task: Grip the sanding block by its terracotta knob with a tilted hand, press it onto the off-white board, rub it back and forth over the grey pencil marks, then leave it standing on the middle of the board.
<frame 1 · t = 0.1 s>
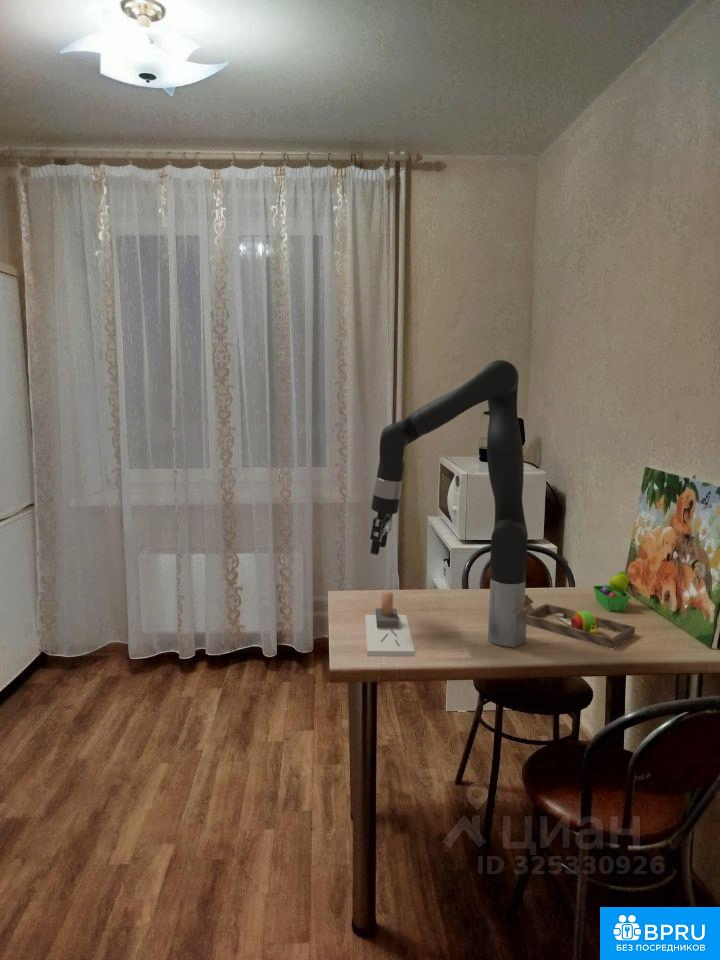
hand: (378, 550, 183), 22 cm above the table, tool pointing down, fingers open, 8 cm apart
wooden tray: (577, 629, 186), on the table
toy snail: (576, 630, 186), resting in wooden tray
fruit basket: (612, 607, 205), on the table
marked board: (388, 636, 179), on the table
wooden fragment: (514, 603, 209), on the table
sanding block: (386, 622, 186), point 1 cm above the table, touching marked board
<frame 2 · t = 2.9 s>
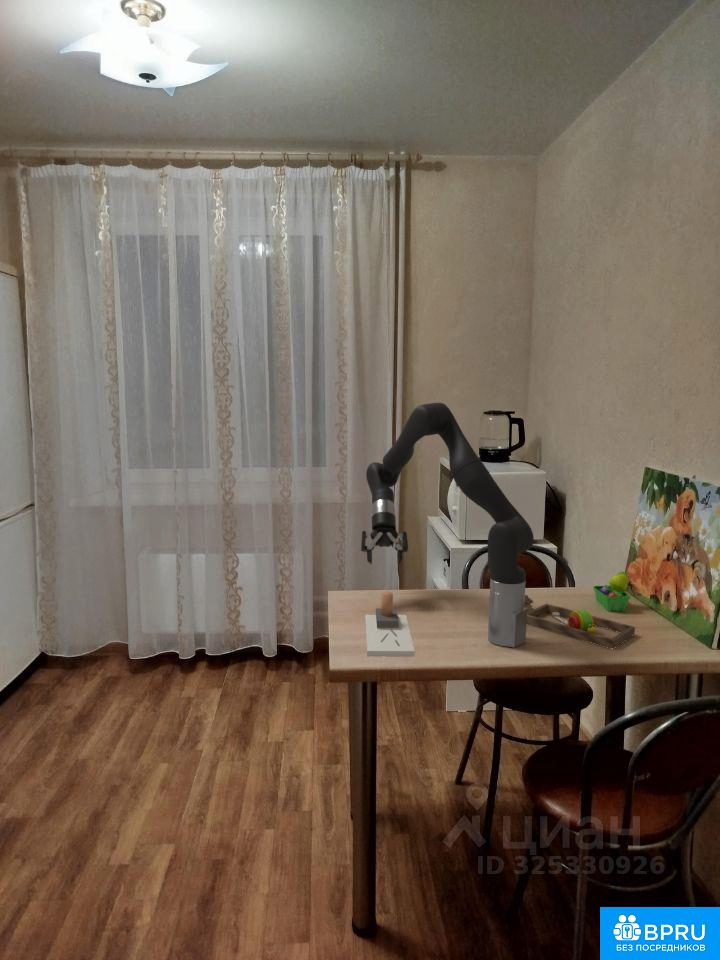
hand: (384, 562, 195), 16 cm above the table, tool tilted 45°, fingers open, 8 cm apart
toy snail: (573, 628, 187), resting in wooden tray
everything else where it was.
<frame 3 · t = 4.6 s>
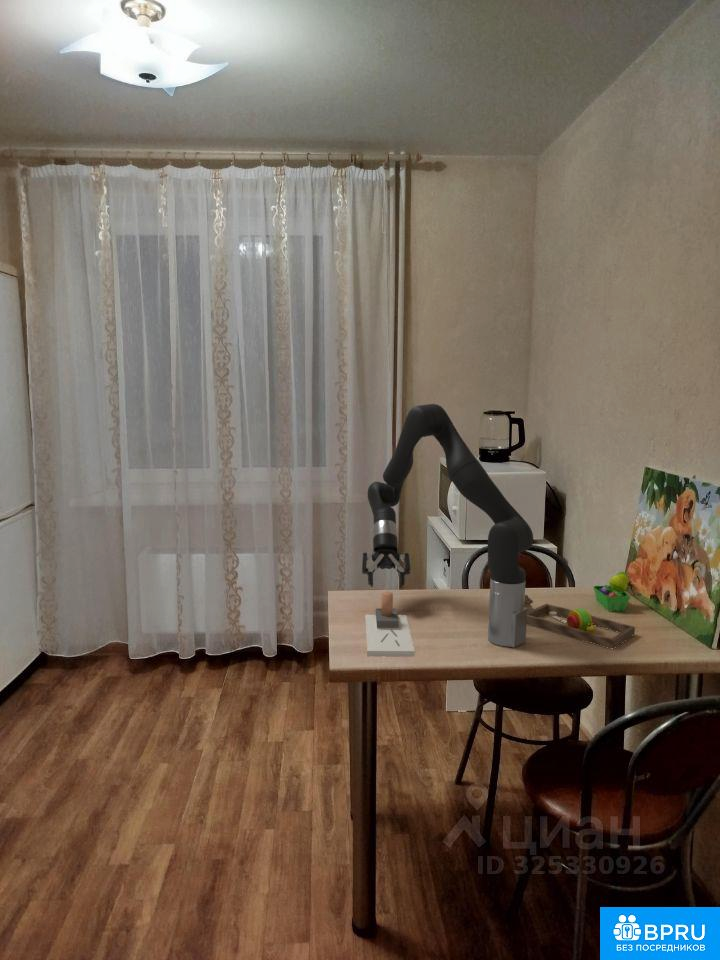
hand: (386, 585, 190), 11 cm above the table, tool tilted 45°, fingers open, 8 cm apart
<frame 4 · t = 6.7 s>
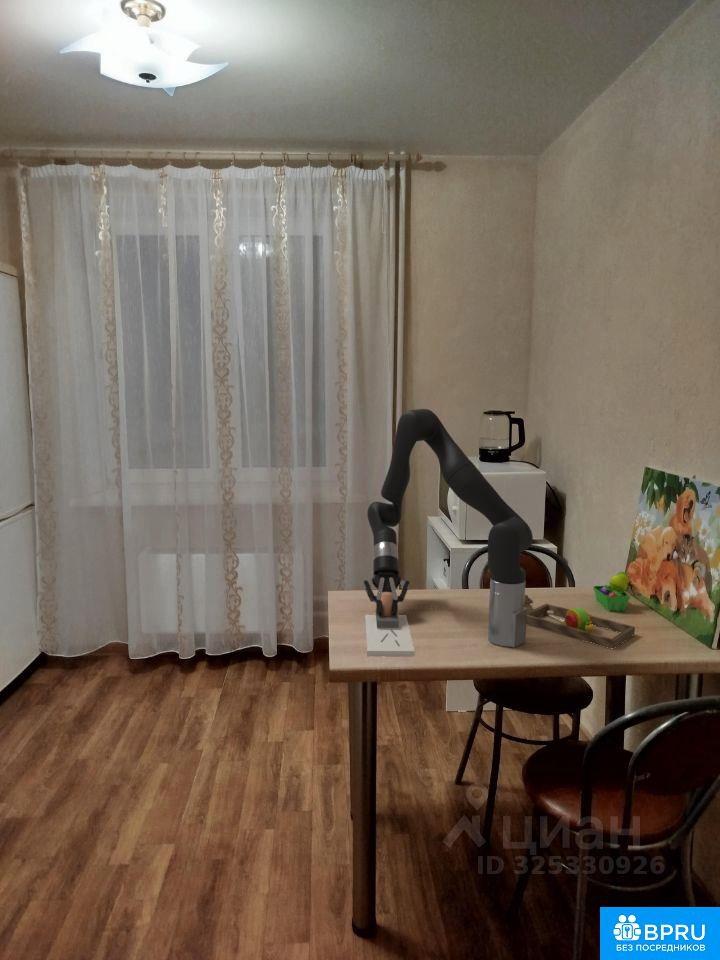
hand: (387, 614, 183), 5 cm above the table, tool tilted 45°, fingers closed on sanding block, 3 cm apart
sanding block: (386, 622, 186), point 1 cm above the table, touching gripper, marked board
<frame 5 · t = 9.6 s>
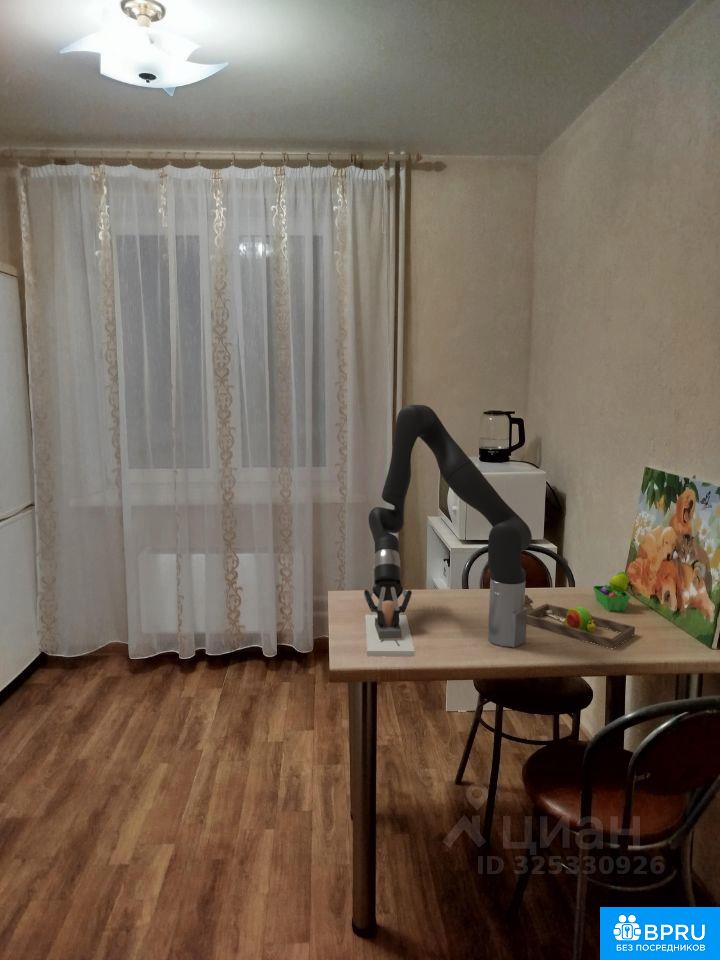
hand: (388, 625, 175), 4 cm above the table, tool tilted 45°, fingers closed on sanding block, 3 cm apart
sanding block: (387, 632, 178), point 2 cm above the table, touching gripper
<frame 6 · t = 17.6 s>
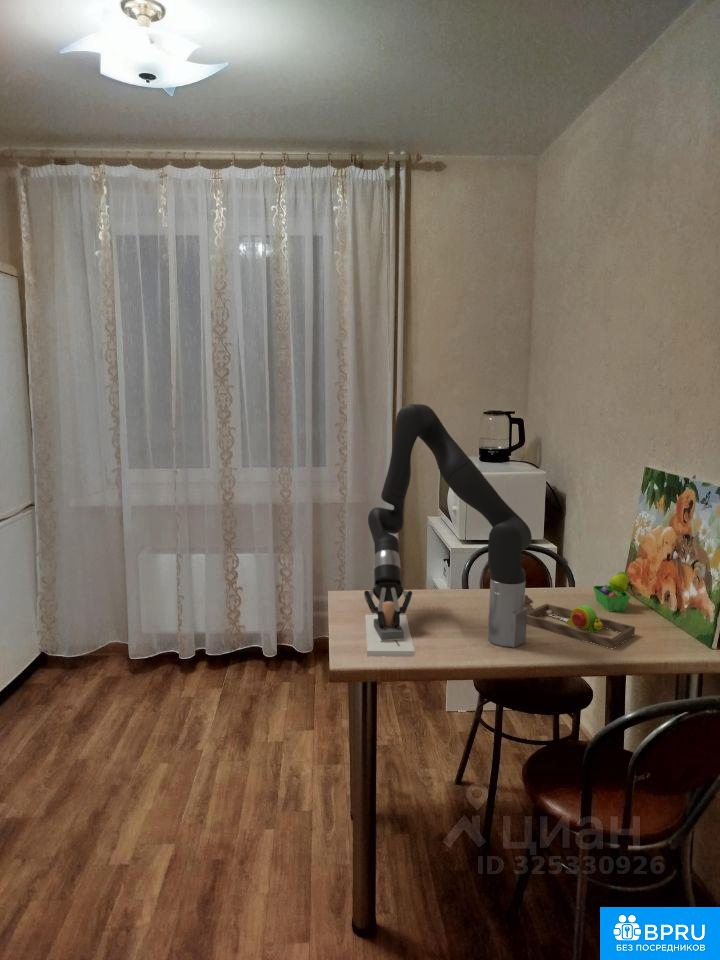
hand: (389, 626, 174), 5 cm above the table, tool tilted 45°, fingers closed on sanding block, 3 cm apart
toy snail: (572, 624, 190), resting in wooden tray
sanding block: (388, 632, 177), point 2 cm above the table, touching gripper
everything else where it was.
when the fingers open (5 cm above the table, at t = 17.9 s): sanding block stays where it is, resting on marked board.
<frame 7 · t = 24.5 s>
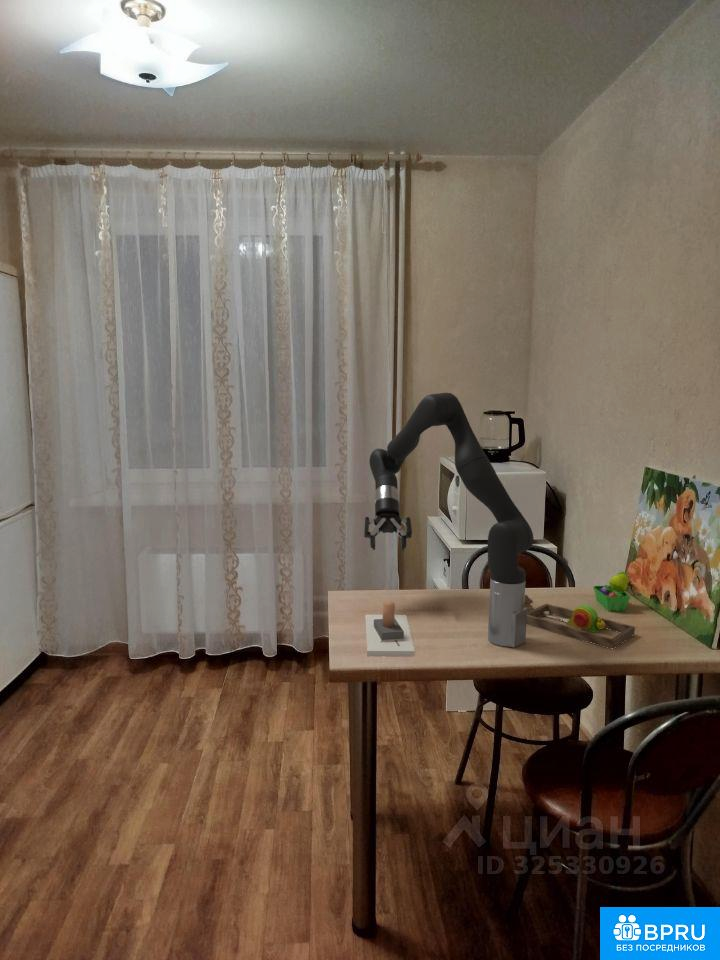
hand: (388, 548, 192), 21 cm above the table, tool tilted 45°, fingers open, 8 cm apart
toy snail: (572, 625, 190), resting in wooden tray
sanding block: (388, 633, 177), point 2 cm above the table, touching marked board
everything else where it was.
at the end: sanding block inside the target area on the marked board (1.6 cm from its centre), point 1.5 cm above the marked board's base; sanding block tilted 0°; the gripper is holding nothing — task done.
